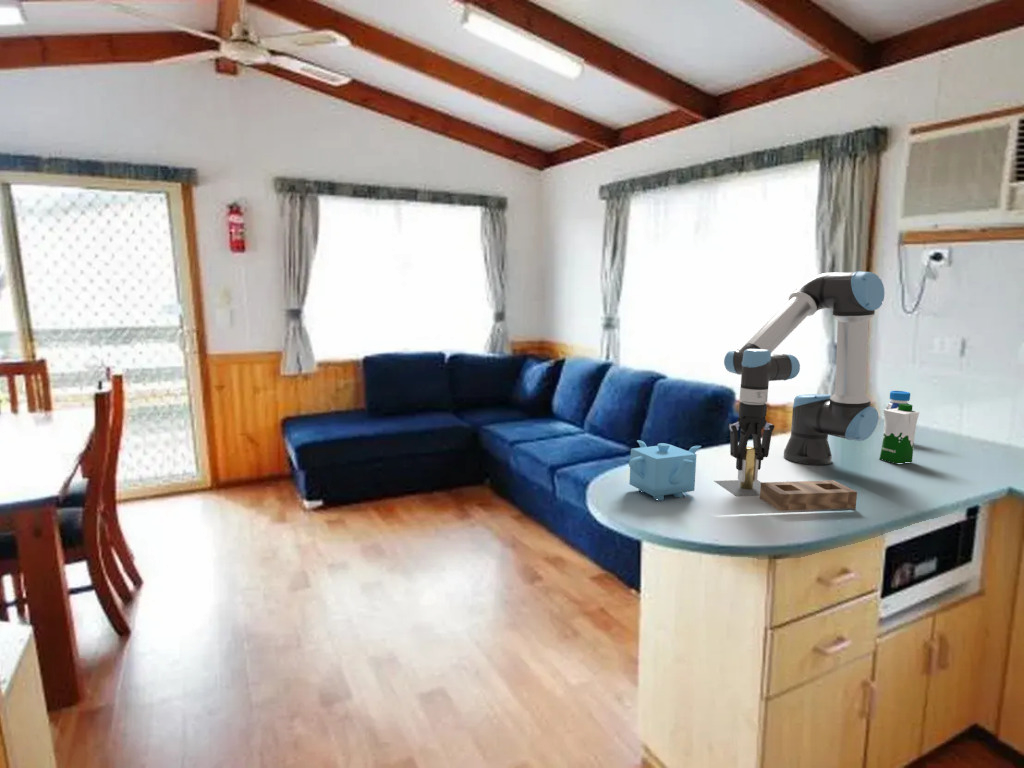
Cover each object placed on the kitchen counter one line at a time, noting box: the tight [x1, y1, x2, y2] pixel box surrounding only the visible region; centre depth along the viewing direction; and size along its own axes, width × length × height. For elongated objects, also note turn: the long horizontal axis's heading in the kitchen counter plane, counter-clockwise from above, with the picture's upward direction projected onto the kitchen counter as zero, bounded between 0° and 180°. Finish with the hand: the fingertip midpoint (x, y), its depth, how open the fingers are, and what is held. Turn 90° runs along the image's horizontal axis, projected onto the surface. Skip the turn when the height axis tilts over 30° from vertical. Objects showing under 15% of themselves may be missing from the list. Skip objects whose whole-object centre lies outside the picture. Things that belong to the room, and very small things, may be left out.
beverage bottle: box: [885, 390, 911, 410], centre depth 239 cm, size 8×8×20 cm
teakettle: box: [628, 439, 702, 501], centre depth 174 cm, size 19×19×15 cm
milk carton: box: [879, 403, 920, 464], centre depth 210 cm, size 9×9×20 cm
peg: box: [740, 446, 756, 489], centre depth 179 cm, size 4×4×12 cm
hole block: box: [759, 479, 858, 512], centre depth 167 cm, size 22×10×5 cm, turn 97°
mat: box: [714, 479, 763, 497], centre depth 180 cm, size 14×14×1 cm
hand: (747, 480), depth 180 cm, fingers closed on peg, 3 cm apart
